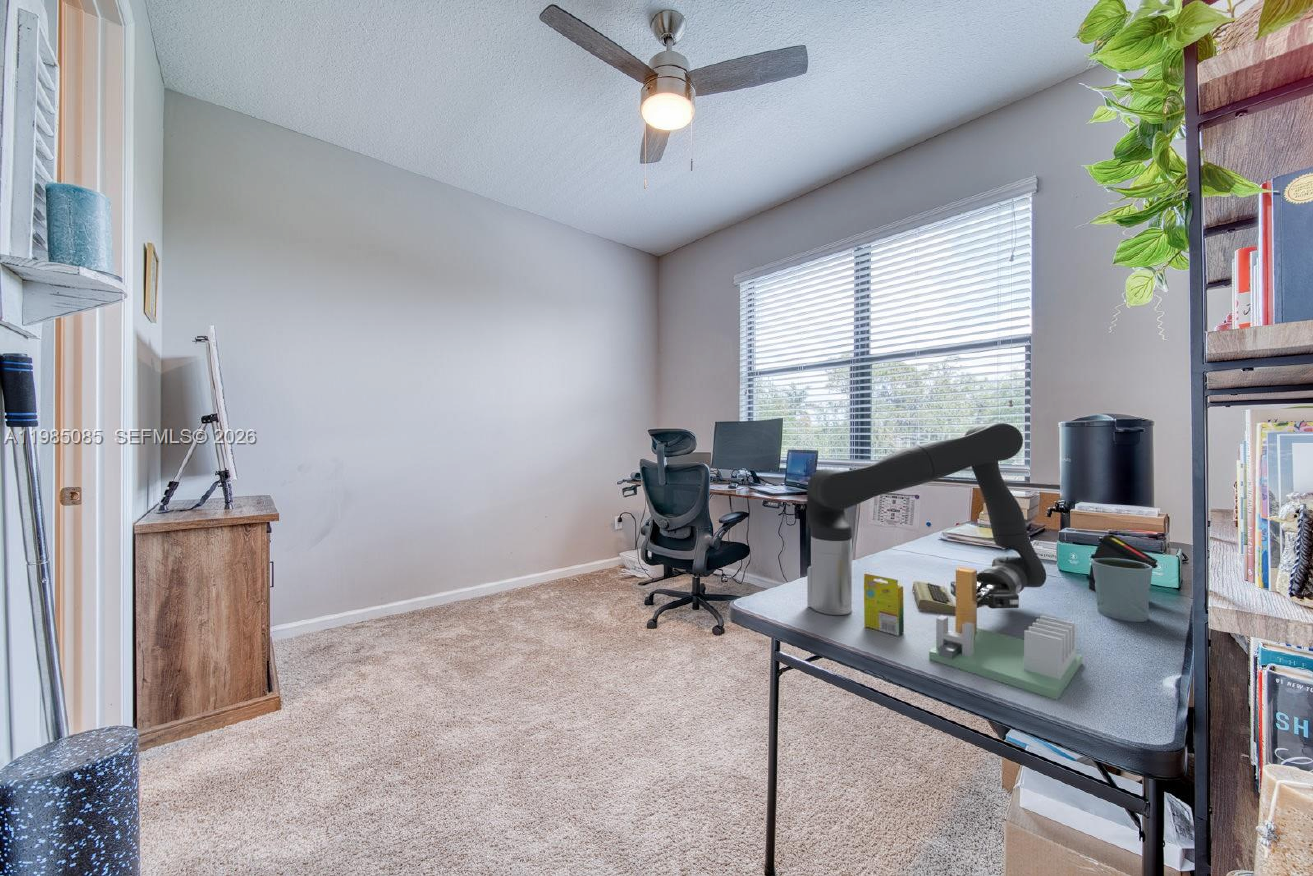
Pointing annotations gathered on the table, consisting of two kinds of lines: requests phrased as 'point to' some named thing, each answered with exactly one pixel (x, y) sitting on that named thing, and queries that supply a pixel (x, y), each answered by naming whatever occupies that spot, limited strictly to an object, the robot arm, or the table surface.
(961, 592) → the wooden block
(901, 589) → the crayon box
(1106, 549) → the black striped box
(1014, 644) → the heatsink board
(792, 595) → the table surface
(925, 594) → the computer
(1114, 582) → the grey green bin
